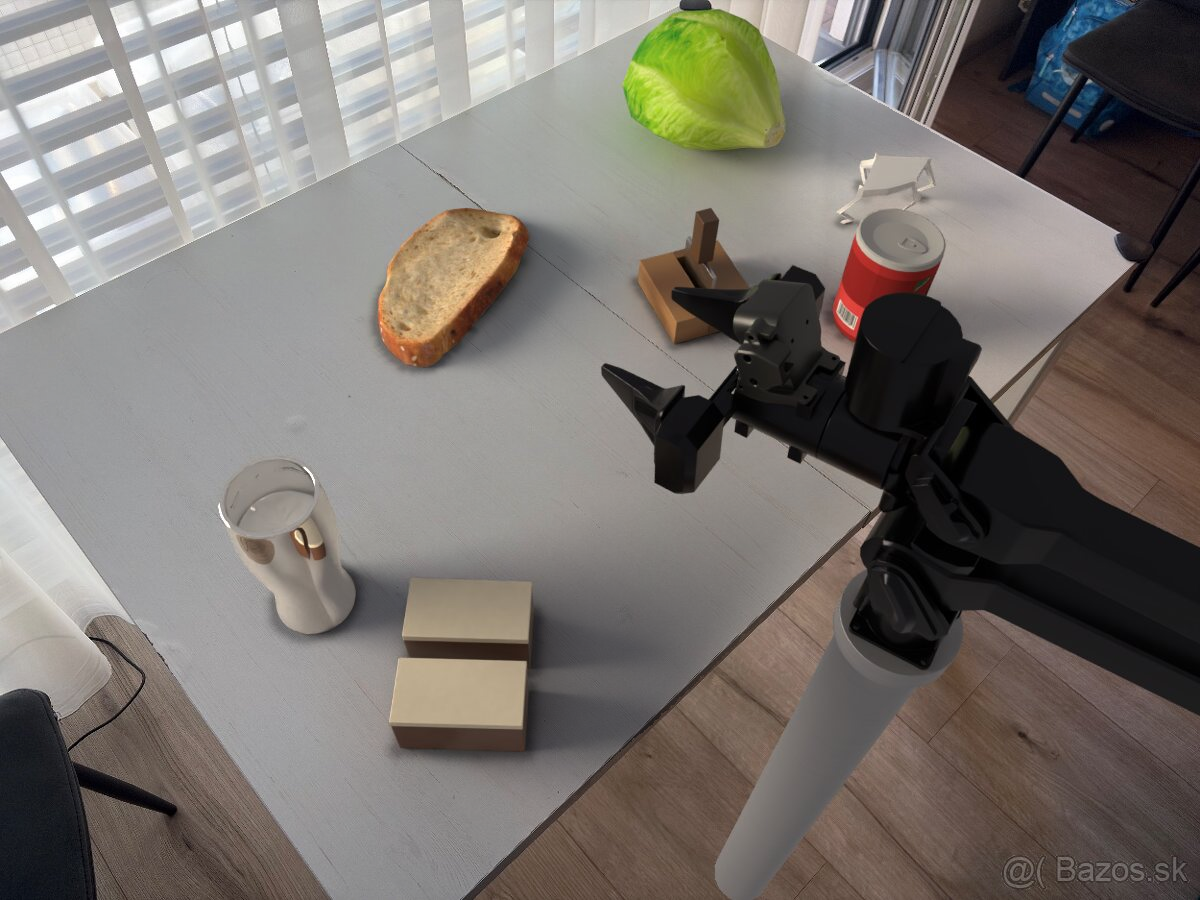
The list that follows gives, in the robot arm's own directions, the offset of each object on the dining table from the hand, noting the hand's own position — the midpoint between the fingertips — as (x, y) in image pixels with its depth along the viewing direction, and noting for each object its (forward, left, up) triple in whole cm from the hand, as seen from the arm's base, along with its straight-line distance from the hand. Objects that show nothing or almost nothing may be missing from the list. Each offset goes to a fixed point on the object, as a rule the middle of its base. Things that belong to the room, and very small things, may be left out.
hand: (638, 329), depth 70 cm
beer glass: (+15, +24, -18) cm, 33 cm away
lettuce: (+17, -45, -18) cm, 52 cm away
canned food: (-11, -28, -18) cm, 36 cm away
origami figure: (-5, -44, -18) cm, 48 cm away
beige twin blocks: (+1, +23, -18) cm, 29 cm away
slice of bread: (+26, -10, -18) cm, 33 cm away
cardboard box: (+5, -21, -18) cm, 28 cm away
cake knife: (+5, -21, -18) cm, 28 cm away
